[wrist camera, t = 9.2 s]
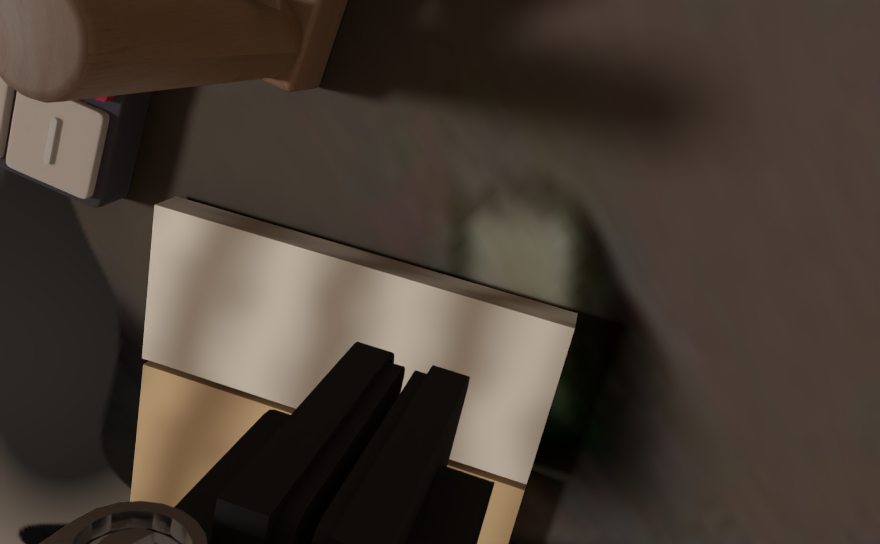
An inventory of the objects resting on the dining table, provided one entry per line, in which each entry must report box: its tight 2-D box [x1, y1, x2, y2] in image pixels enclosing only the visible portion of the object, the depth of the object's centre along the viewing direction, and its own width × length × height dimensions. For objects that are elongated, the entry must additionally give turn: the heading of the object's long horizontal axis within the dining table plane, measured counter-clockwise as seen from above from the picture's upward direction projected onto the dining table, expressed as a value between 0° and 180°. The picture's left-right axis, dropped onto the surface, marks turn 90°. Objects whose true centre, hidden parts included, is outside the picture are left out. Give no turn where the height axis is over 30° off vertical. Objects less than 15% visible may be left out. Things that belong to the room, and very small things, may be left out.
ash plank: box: [142, 196, 578, 485], centre depth 40 cm, size 22×9×2 cm, turn 77°
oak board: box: [130, 361, 526, 544], centre depth 43 cm, size 22×10×2 cm, turn 77°
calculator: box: [0, 77, 152, 208], centre depth 39 cm, size 11×4×15 cm
